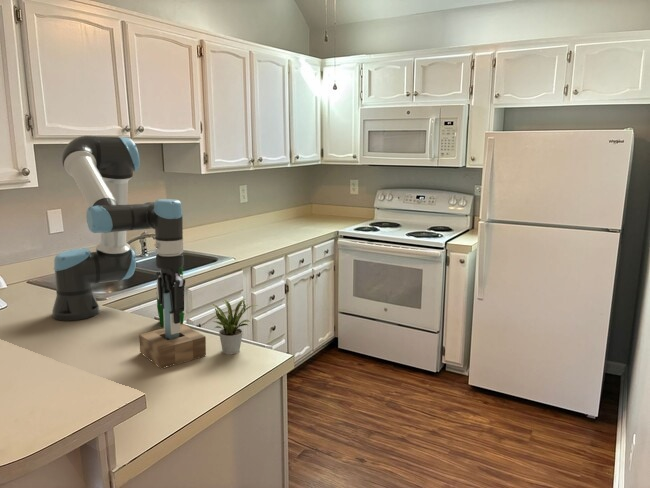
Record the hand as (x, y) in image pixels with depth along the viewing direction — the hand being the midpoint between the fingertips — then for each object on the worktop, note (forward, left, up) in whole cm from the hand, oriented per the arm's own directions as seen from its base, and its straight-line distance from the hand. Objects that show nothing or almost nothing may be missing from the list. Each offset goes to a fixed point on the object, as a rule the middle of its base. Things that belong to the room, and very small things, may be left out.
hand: (172, 330), depth 145 cm
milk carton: (-25, +12, -8) cm, 29 cm away
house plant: (+9, +16, -8) cm, 20 cm away
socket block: (0, 0, -7) cm, 7 cm away
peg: (0, 0, -4) cm, 4 cm away
